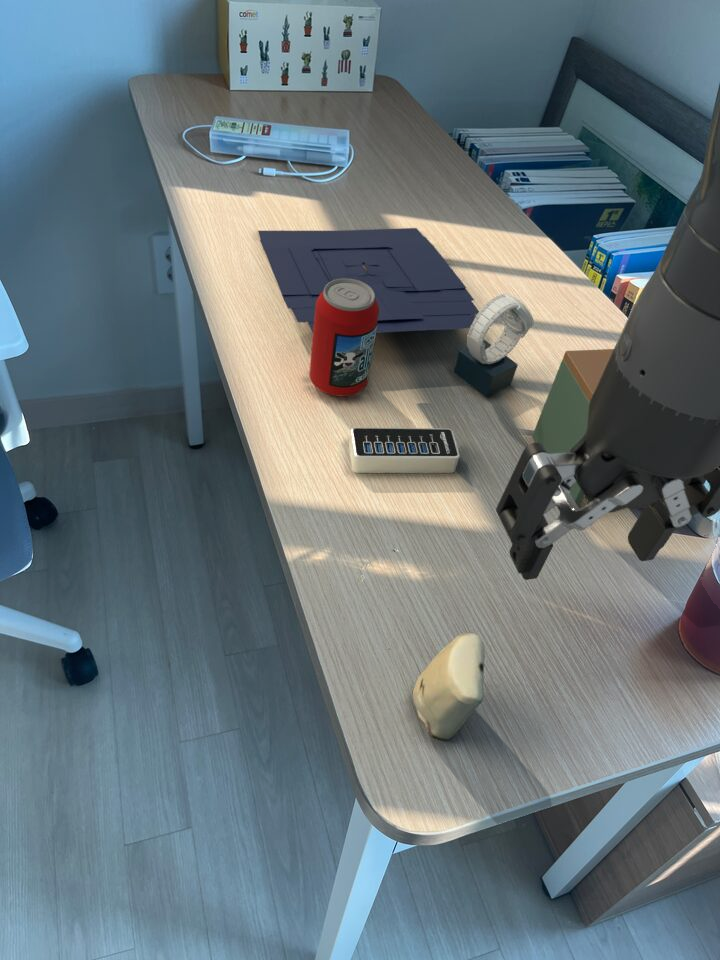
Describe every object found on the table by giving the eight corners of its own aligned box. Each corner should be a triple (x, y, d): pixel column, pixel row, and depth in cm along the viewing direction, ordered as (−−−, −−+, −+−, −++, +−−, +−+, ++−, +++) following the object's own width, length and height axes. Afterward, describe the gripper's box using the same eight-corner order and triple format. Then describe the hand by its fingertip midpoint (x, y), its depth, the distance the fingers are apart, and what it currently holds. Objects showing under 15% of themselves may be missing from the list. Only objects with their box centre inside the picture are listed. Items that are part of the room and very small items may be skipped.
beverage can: (346, 409, 84) (359, 320, 75) (297, 384, 86) (304, 293, 77) (377, 379, 88) (393, 291, 79) (329, 356, 90) (339, 267, 81)
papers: (296, 358, 87) (297, 330, 84) (255, 249, 108) (255, 224, 106) (491, 346, 93) (497, 320, 90) (415, 245, 114) (419, 222, 112)
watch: (521, 379, 92) (549, 302, 84) (476, 402, 87) (500, 324, 79) (488, 354, 94) (511, 277, 86) (442, 376, 90) (463, 297, 82)
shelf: (647, 503, 80) (698, 419, 71) (570, 510, 78) (612, 425, 69) (603, 431, 87) (644, 347, 78) (531, 436, 85) (565, 350, 76)
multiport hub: (348, 442, 80) (350, 426, 79) (447, 443, 82) (452, 427, 81) (352, 472, 77) (355, 457, 76) (455, 473, 79) (460, 457, 78)
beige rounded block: (488, 732, 60) (515, 683, 54) (432, 758, 58) (454, 710, 52) (451, 671, 63) (473, 620, 57) (397, 694, 61) (414, 643, 55)
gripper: (601, 429, 33) (505, 625, 45) (854, 402, 37) (705, 590, 49) (533, 327, 38) (462, 529, 50) (763, 312, 42) (647, 503, 54)
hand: (582, 559), depth 49 cm, fingers open, 8 cm apart
